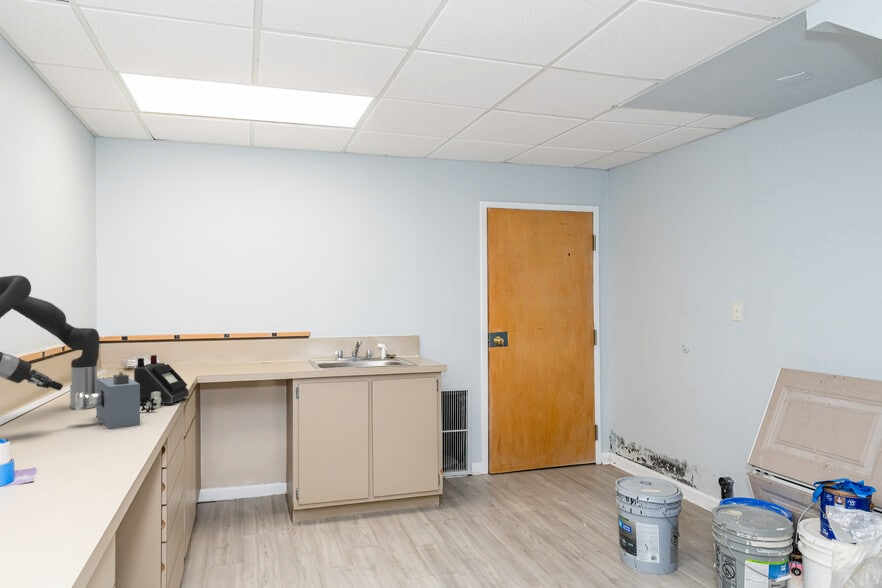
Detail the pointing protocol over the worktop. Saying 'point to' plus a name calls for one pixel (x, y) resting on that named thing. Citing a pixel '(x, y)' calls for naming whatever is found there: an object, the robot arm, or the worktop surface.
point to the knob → (88, 400)
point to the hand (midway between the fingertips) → (60, 387)
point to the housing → (118, 403)
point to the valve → (152, 402)
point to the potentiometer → (121, 378)
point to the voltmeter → (159, 381)
